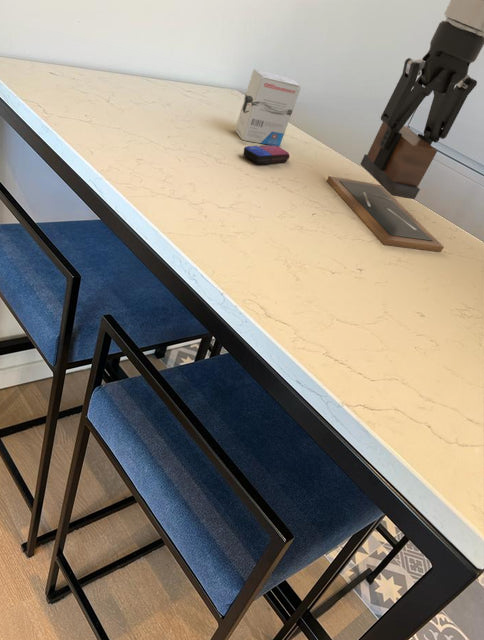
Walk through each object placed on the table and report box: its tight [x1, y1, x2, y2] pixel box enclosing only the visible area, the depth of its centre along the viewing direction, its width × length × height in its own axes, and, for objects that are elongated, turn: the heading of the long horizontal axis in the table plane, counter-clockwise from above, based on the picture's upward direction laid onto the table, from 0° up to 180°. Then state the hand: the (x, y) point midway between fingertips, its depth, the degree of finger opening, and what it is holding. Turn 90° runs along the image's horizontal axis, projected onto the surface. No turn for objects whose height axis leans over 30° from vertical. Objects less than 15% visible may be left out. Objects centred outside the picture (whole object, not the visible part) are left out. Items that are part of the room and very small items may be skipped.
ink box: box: [234, 68, 302, 147], centre depth 109 cm, size 8×5×12 cm, turn 108°
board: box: [326, 175, 445, 253], centre depth 101 cm, size 22×12×1 cm, turn 17°
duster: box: [360, 121, 438, 200], centre depth 100 cm, size 12×5×8 cm, turn 17°
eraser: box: [243, 144, 290, 165], centre depth 104 cm, size 11×4×2 cm, turn 136°
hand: (392, 169), depth 101 cm, fingers closed on duster, 5 cm apart
